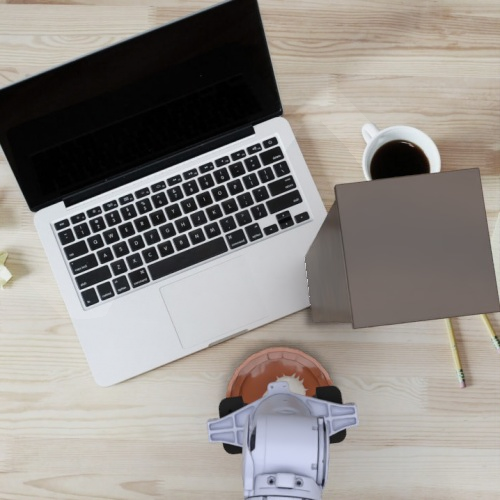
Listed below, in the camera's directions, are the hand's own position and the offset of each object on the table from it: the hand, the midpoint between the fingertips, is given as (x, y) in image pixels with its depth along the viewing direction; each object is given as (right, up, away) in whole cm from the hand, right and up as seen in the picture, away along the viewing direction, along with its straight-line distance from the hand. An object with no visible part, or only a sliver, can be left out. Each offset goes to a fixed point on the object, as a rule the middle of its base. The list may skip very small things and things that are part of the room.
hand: (281, 410), depth 78 cm
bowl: (0, -1, +10) cm, 10 cm away
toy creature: (0, -1, +9) cm, 9 cm away
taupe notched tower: (+8, +13, +11) cm, 19 cm away
